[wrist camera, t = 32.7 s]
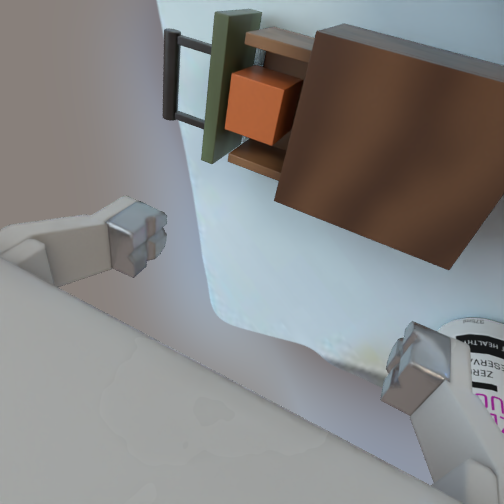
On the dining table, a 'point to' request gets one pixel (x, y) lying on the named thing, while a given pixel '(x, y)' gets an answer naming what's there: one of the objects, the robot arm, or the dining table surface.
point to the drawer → (221, 68)
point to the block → (262, 103)
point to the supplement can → (483, 360)
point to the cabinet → (397, 142)
